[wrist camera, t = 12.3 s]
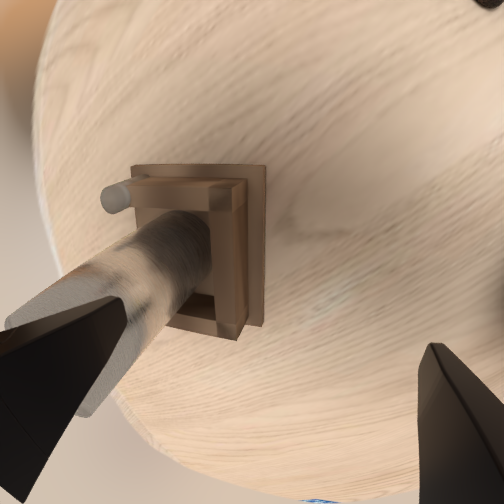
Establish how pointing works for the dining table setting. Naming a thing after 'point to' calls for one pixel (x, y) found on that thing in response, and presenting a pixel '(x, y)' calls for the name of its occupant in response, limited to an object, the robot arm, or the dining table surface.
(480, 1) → the wrench
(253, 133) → the dining table surface
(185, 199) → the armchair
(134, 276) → the grey cylinder
